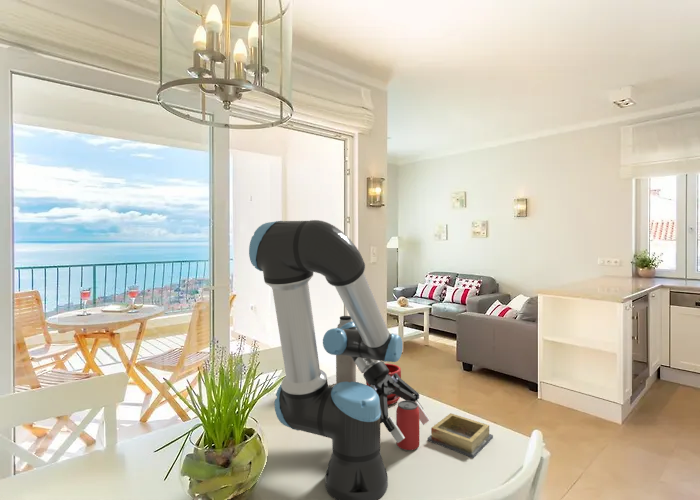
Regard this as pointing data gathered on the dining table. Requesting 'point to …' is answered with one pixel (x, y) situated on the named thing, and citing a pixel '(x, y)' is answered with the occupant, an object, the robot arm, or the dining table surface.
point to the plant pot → (392, 370)
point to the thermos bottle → (345, 361)
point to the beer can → (408, 424)
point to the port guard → (460, 434)
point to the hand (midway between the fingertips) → (414, 431)
